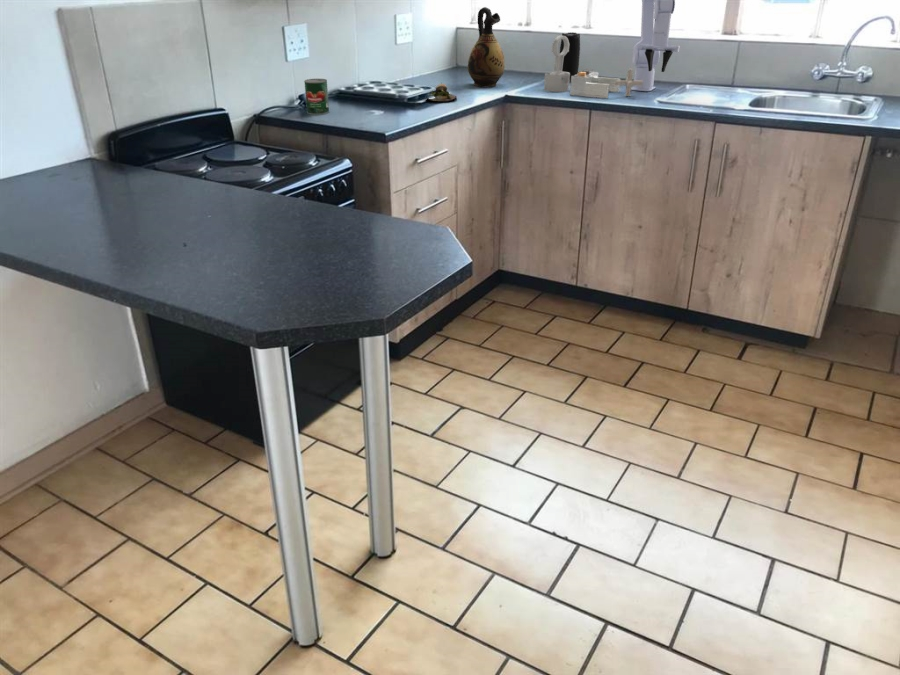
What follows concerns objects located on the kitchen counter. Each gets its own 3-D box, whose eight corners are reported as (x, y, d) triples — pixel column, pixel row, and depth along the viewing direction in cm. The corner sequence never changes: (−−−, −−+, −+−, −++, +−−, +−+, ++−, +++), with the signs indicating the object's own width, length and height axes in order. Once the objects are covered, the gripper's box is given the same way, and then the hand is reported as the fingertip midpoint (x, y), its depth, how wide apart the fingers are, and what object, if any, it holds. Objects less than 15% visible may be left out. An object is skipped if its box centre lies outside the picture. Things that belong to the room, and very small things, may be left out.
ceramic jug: (511, 86, 312) (514, 8, 298) (482, 89, 304) (483, 10, 290) (487, 80, 324) (488, 5, 310) (458, 84, 316) (458, 7, 302)
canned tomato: (310, 115, 261) (307, 82, 256) (304, 111, 267) (301, 79, 262) (332, 113, 264) (329, 81, 258) (326, 109, 270) (323, 77, 265)
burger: (420, 102, 282) (420, 82, 278) (432, 97, 292) (432, 77, 288) (450, 104, 278) (450, 84, 274) (461, 99, 288) (461, 79, 284)
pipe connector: (639, 94, 294) (642, 67, 289) (642, 98, 285) (645, 71, 280) (613, 93, 295) (616, 67, 290) (616, 98, 286) (618, 71, 281)
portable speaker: (556, 81, 321) (559, 34, 312) (560, 78, 329) (563, 31, 320) (575, 82, 319) (578, 34, 310) (579, 79, 326) (582, 32, 317)
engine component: (539, 89, 304) (557, 92, 298) (541, 35, 295) (560, 37, 288) (556, 86, 311) (575, 89, 304) (560, 33, 301) (579, 35, 294)
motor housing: (583, 88, 305) (584, 67, 301) (619, 91, 299) (621, 70, 295) (569, 95, 292) (570, 73, 289) (606, 98, 286) (608, 76, 282)
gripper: (638, 32, 275) (634, 71, 281) (678, 34, 268) (673, 74, 275) (643, 30, 280) (639, 68, 286) (682, 32, 274) (677, 71, 280)
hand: (656, 71), depth 281 cm, fingers open, 4 cm apart
